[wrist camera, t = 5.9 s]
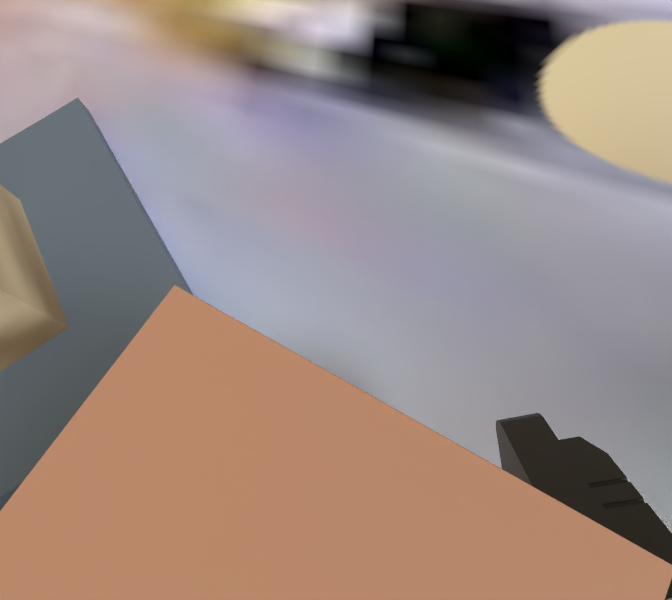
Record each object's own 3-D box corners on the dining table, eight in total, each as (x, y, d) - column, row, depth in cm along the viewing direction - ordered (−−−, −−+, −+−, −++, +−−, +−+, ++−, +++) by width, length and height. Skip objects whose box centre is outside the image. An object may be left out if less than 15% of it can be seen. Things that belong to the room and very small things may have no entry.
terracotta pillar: (343, 443, 14) (173, 284, 5) (497, 539, 12) (675, 567, 3) (251, 601, 12) (-209, 781, 4) (409, 734, 11) (286, 1726, 2)
